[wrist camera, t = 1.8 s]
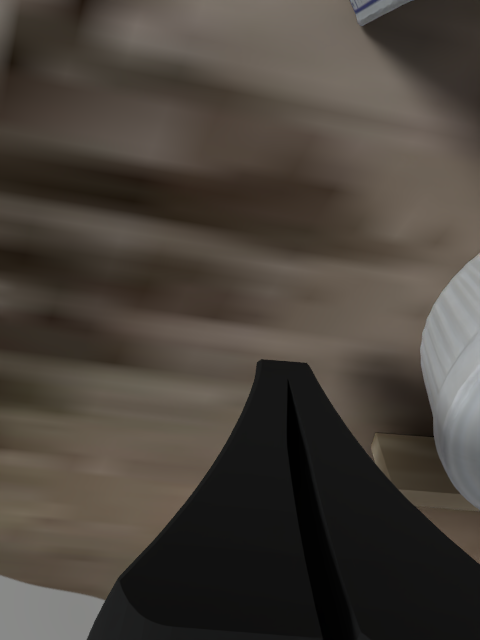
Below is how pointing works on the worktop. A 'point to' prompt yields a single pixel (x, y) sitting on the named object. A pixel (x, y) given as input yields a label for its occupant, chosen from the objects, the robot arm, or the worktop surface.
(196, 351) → the worktop surface
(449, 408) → the ramekin
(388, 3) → the medicine box
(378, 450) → the lane
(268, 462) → the robot arm
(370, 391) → the worktop surface
